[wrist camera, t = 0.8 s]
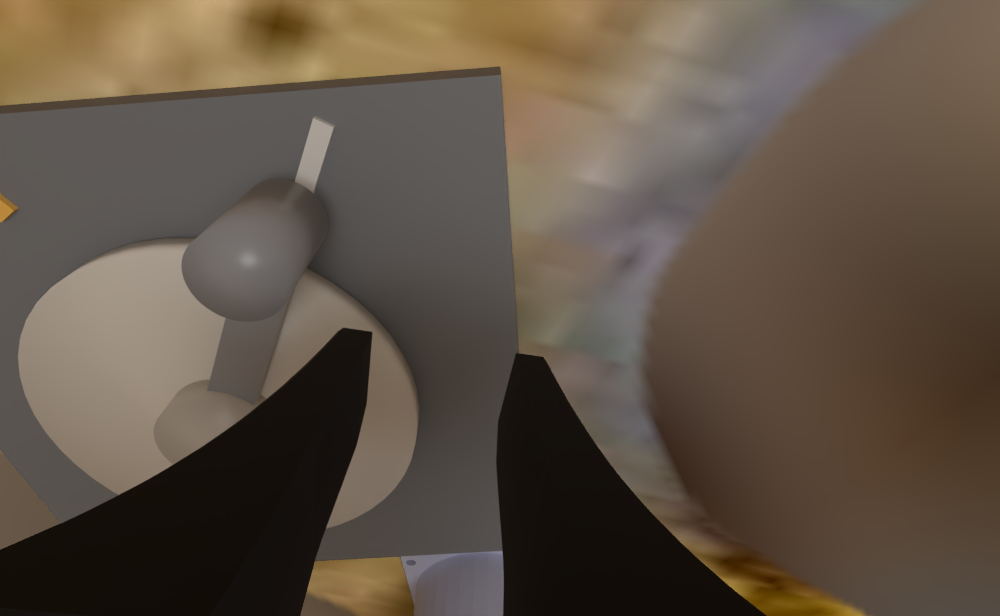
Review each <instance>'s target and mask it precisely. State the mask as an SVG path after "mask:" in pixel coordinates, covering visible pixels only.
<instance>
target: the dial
mask: <svg viewBox="0 0 1000 616" xmlns="http://www.w3.org/2000/svg"><path fill="white" fill-rule="evenodd" d="M327 232H328V218H327V214H326V211H325V209H324V207H323V205H322V203H321V202H320V200H319V199H318V198H317V197H316V196H315V195H314V194H313V193H312V192H311V191H310V190H309V189H307V188H306V187H304V186H303V185H301V184H299V183H297V182H294V181H291V180H287V179H268V180H265V181H262V182H260V183H258V184H257V185H255V186H254V187H253V188H252V189H250V190H249V191H248V192H247V193H246V194H245V195H244V196H243V197H242V198H240V199H239V200H238V201H237V202H236V203H235V204H234V205H233V206H231V207H230V208H229V209H228V210H227V211H226V212H225V213H224V214H223V215H221V216H220V217H219V218H218V219H217V220H216V221H215V222H214V223H212V224H211V225H210V226H209V227H208V228H207V229H206V230H205V231H204V232H202V233H201V234H200V235H199V236H198V237H197V238H165V239H157V240H150V241H143V242H137V243H133V244H130V245H126V246H122V247H119V248H115V249H112V250H110V251H108V252H106V253H104V254H101V255H99V256H97V257H95V258H93V259H91V260H89V261H88V262H86V263H85V264H84V265H82V266H81V267H79V268H78V269H76V270H75V271H73V272H72V273H71V274H69V275H68V276H66V277H65V278H64V279H62V280H61V281H59V282H58V283H57V284H55V285H54V286H52V287H51V288H50V289H49V290H48V291H47V292H46V293H45V294H44V295H43V296H42V298H41V299H40V300H39V301H38V302H37V303H36V305H35V306H34V308H33V309H32V311H31V313H30V314H29V316H28V317H27V319H26V322H25V325H24V328H23V330H22V333H21V336H20V342H19V351H18V363H19V374H20V379H21V383H22V386H23V390H24V393H25V396H26V398H27V401H28V403H29V405H30V407H31V409H32V411H33V413H34V415H35V417H36V418H37V420H38V421H39V423H40V424H41V426H42V428H43V429H44V431H45V432H46V433H47V435H48V436H49V437H50V438H51V439H52V441H53V442H54V443H55V444H56V445H57V447H58V448H59V449H60V450H61V451H62V452H63V453H64V454H65V455H66V456H67V457H68V458H69V459H70V460H71V461H72V462H73V463H74V464H75V465H77V466H78V467H79V468H80V469H82V470H83V471H84V472H85V473H87V474H88V475H89V476H90V477H92V478H93V479H94V480H96V481H97V482H99V483H100V484H102V485H103V486H105V487H106V488H108V489H109V490H111V491H112V492H114V493H116V494H118V495H120V494H121V493H123V492H125V491H127V490H129V489H131V488H133V487H135V486H137V485H139V484H141V483H142V482H144V481H146V480H148V479H150V478H151V477H153V476H155V475H157V474H158V473H160V472H162V471H163V470H165V469H167V468H168V467H170V466H172V465H173V464H175V463H177V462H178V461H180V460H181V459H183V458H185V457H186V456H188V455H189V454H191V453H193V452H194V451H196V450H197V449H199V448H201V447H202V446H204V445H205V444H207V443H208V442H210V441H211V440H213V439H214V438H215V437H217V436H218V435H220V434H221V433H223V432H224V431H226V430H227V429H228V428H230V427H231V426H233V425H234V424H235V423H237V422H238V421H239V420H241V419H242V418H243V417H245V416H246V415H247V414H249V413H250V412H251V411H252V410H253V409H255V408H256V407H257V406H258V405H260V404H261V403H262V402H263V401H265V400H266V399H267V398H268V397H269V396H271V395H272V394H273V393H274V392H276V391H277V390H278V389H279V388H280V387H281V386H283V385H284V384H285V383H286V382H287V381H288V380H289V379H290V378H291V377H292V376H294V375H295V374H296V373H297V372H298V371H299V370H300V369H301V368H302V367H303V366H304V365H306V364H307V363H308V362H309V361H310V360H311V359H312V358H313V357H314V356H315V355H316V354H317V353H318V352H319V351H320V350H321V349H322V348H323V347H324V346H325V344H326V343H327V342H328V341H329V340H330V339H331V338H332V337H333V336H334V335H335V334H336V333H337V331H339V330H340V329H342V328H350V329H357V330H363V331H370V332H372V345H371V357H370V370H369V382H368V395H367V405H366V409H365V413H364V417H363V422H362V426H361V430H360V434H359V438H358V442H357V446H356V449H355V451H354V454H353V457H352V460H351V462H350V465H349V468H348V470H347V473H346V476H345V479H344V481H343V484H342V487H341V489H340V492H339V495H338V497H337V500H336V503H335V505H334V508H333V511H332V514H331V516H330V519H329V522H328V524H327V527H326V529H327V528H330V527H334V526H337V525H340V524H342V523H345V522H347V521H350V520H352V519H355V518H357V517H358V516H360V515H362V514H364V513H365V512H367V511H369V510H371V509H372V508H373V507H375V506H376V505H377V504H379V503H380V502H381V501H383V500H384V499H385V498H386V497H387V496H388V495H389V494H390V493H391V492H392V491H393V490H394V489H395V488H396V486H397V485H398V483H399V482H400V481H401V479H402V478H403V476H404V475H405V473H406V471H407V468H408V466H409V464H410V462H411V459H412V455H413V451H414V447H415V443H416V437H417V431H418V423H419V402H418V393H417V389H416V385H415V382H414V378H413V375H412V372H411V370H410V368H409V366H408V363H407V361H406V359H405V357H404V355H403V353H402V352H401V350H400V349H399V347H398V345H397V344H396V342H395V341H394V339H393V338H392V336H391V335H390V334H389V333H388V331H387V330H386V329H385V328H384V327H383V326H382V324H381V323H380V322H379V321H378V320H377V319H376V317H375V316H373V315H372V314H371V313H370V312H369V311H368V310H367V309H366V308H365V307H364V306H363V305H361V304H360V303H359V302H358V301H357V300H356V299H355V298H353V297H352V296H350V295H349V294H348V293H346V292H345V291H344V290H342V289H341V288H340V287H338V286H337V285H335V284H334V283H332V282H331V281H329V280H327V279H325V278H324V277H322V276H320V275H318V274H317V273H315V272H313V271H312V270H310V269H308V268H307V267H308V265H309V264H310V262H311V261H312V259H313V257H314V256H315V254H316V253H317V251H318V250H319V248H320V246H321V245H322V243H323V242H324V240H325V238H326V236H327Z"/></svg>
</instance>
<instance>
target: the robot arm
mask: <svg viewBox="0 0 1000 616" xmlns="http://www.w3.org/2000/svg"><path fill="white" fill-rule="evenodd" d="M371 345H372V332H370V331H363V330H357V329H350V328H342V329H340V330H339V331H337V333H336V334H335V335H334V336H333V337H332V338H331V339H330V340H329V341H328V342H327V343H326V344H325V346H324V347H323V348H322V349H321V350H320V351H319V352H318V353H317V354H316V355H315V356H314V357H313V358H312V359H311V360H310V361H309V362H308V363H307V364H306V365H304V366H303V367H302V368H301V369H300V370H299V371H298V372H297V373H296V374H295V375H294V376H292V377H291V378H290V379H289V380H288V381H287V382H286V383H285V384H284V385H283V386H281V387H280V388H279V389H278V390H277V391H276V392H274V393H273V394H272V395H271V396H269V397H268V398H267V399H266V400H265V401H263V402H262V403H261V404H260V405H258V406H257V407H256V408H255V409H253V410H252V411H251V412H250V413H249V414H247V415H246V416H245V417H243V418H242V419H241V420H239V421H238V422H237V423H235V424H234V425H233V426H231V427H230V428H228V429H227V430H226V431H224V432H223V433H221V434H220V435H218V436H217V437H215V438H214V439H213V440H211V441H210V442H208V443H207V444H205V445H204V446H202V447H201V448H199V449H197V450H196V451H194V452H193V453H191V454H189V455H188V456H186V457H185V458H183V459H181V460H180V461H178V462H177V463H175V464H173V465H172V466H170V467H168V468H167V469H165V470H163V471H162V472H160V473H158V474H157V475H155V476H153V477H151V478H150V479H148V480H146V481H144V482H142V483H141V484H139V485H137V486H135V487H133V488H131V489H129V490H127V491H125V492H123V493H121V494H120V495H118V496H116V497H114V498H112V499H110V500H108V501H106V502H104V503H102V504H100V505H98V506H96V507H94V508H92V509H90V510H88V511H86V512H84V513H82V514H80V515H78V516H76V517H73V518H71V519H69V520H67V521H65V522H63V523H61V524H59V525H56V526H54V527H52V528H49V529H47V530H45V531H42V532H40V533H38V534H35V535H33V536H31V537H29V538H26V539H24V540H22V541H19V542H17V543H15V544H13V545H10V546H8V547H6V548H3V549H1V550H0V616H300V614H301V610H302V607H303V602H304V599H305V595H306V592H307V588H308V584H309V580H310V577H311V573H312V569H313V566H314V562H315V559H316V556H317V553H318V550H319V547H320V544H321V540H322V538H323V535H324V532H325V530H326V527H327V524H328V522H329V519H330V516H331V514H332V511H333V508H334V505H335V503H336V500H337V497H338V495H339V492H340V489H341V487H342V484H343V481H344V479H345V476H346V473H347V470H348V468H349V465H350V462H351V460H352V457H353V454H354V451H355V449H356V446H357V442H358V438H359V434H360V430H361V426H362V422H363V417H364V413H365V409H366V405H367V395H368V382H369V370H370V357H371ZM496 469H497V483H498V498H499V511H500V524H501V538H502V551H492V552H474V553H455V554H436V555H418V556H400V558H401V561H402V565H403V568H404V572H405V575H406V579H407V582H408V586H409V589H410V593H411V596H412V599H413V603H414V614H413V616H766V615H765V614H764V613H762V612H761V611H760V610H758V609H757V608H756V607H755V606H753V605H752V604H751V603H749V602H748V601H747V600H746V599H744V598H743V597H742V596H741V595H739V594H738V593H737V592H735V591H734V590H733V589H732V588H731V587H729V586H728V585H727V584H726V583H725V582H724V581H723V580H721V579H720V578H719V577H718V576H717V575H716V574H715V573H713V572H712V571H711V570H710V569H709V568H708V567H707V566H705V565H704V564H703V563H702V562H701V561H700V560H699V559H698V558H696V557H695V556H694V555H693V554H692V553H691V552H690V551H689V550H688V549H687V548H686V547H685V546H684V545H683V544H682V543H680V542H679V541H678V540H677V539H676V538H675V537H674V536H673V535H672V533H671V532H670V531H669V530H668V529H667V528H666V527H665V526H664V525H663V524H662V523H661V522H660V521H659V520H658V519H657V518H656V517H655V516H654V515H653V514H652V513H651V512H650V511H649V510H648V509H647V508H646V507H645V505H644V504H643V503H642V502H641V501H640V500H639V499H638V498H637V496H636V495H635V494H634V493H633V492H632V491H631V489H630V488H629V487H628V486H627V485H626V483H625V482H624V481H623V480H622V479H621V478H620V476H619V475H618V474H617V473H616V471H615V470H614V469H613V467H612V466H611V465H610V463H609V462H608V461H607V459H606V458H605V456H604V455H603V454H602V452H601V451H600V450H599V448H598V447H597V445H596V444H595V442H594V441H593V439H592V438H591V436H590V435H589V434H588V432H587V430H586V429H585V427H584V426H583V424H582V423H581V421H580V419H579V418H578V416H577V415H576V413H575V412H574V410H573V408H572V407H571V405H570V403H569V402H568V400H567V398H566V396H565V395H564V393H563V391H562V389H561V388H560V386H559V384H558V382H557V380H556V379H555V377H554V375H553V373H552V371H551V369H550V368H549V366H548V364H547V362H546V361H545V359H544V358H543V357H539V356H532V355H526V354H519V353H516V354H515V358H514V362H513V366H512V370H511V373H510V377H509V381H508V385H507V389H506V392H505V396H504V400H503V404H502V408H501V412H500V415H499V419H498V431H497V453H496Z"/></svg>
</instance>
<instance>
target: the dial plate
mask: <svg viewBox="0 0 1000 616" xmlns="http://www.w3.org/2000/svg"><path fill="white" fill-rule="evenodd" d="M268 179H287V180H291V181H294V182H297V183H299V184H301V185H303V186H304V187H306V188H307V189H309V190H310V191H311V192H312V193H313V194H314V195H315V196H316V197H317V198H318V199H319V200H320V202H321V203H322V205H323V207H324V209H325V211H326V214H327V218H328V232H327V236H326V238H325V240H324V242H323V243H322V245H321V246H320V248H319V250H318V251H317V253H316V254H315V256H314V257H313V259H312V261H311V262H310V264H309V265H308V267H307V268H308V269H310V270H312V271H313V272H315V273H317V274H318V275H320V276H322V277H324V278H325V279H327V280H329V281H331V282H332V283H334V284H335V285H337V286H338V287H340V288H341V289H342V290H344V291H345V292H346V293H348V294H349V295H350V296H352V297H353V298H355V299H356V300H357V301H358V302H359V303H360V304H361V305H363V306H364V307H365V308H366V309H367V310H368V311H369V312H370V313H371V314H372V315H373V316H375V317H376V319H377V320H378V321H379V322H380V323H381V324H382V326H383V327H384V328H385V329H386V330H387V331H388V333H389V334H390V335H391V336H392V338H393V339H394V341H395V342H396V344H397V345H398V347H399V349H400V350H401V352H402V353H403V355H404V357H405V359H406V361H407V363H408V366H409V368H410V370H411V372H412V375H413V378H414V382H415V385H416V389H417V393H418V402H419V423H418V431H417V437H416V443H415V447H414V451H413V455H412V459H411V462H410V464H409V466H408V468H407V471H406V473H405V475H404V476H403V478H402V479H401V481H400V482H399V483H398V485H397V486H396V488H395V489H394V490H393V491H392V492H391V493H390V494H389V495H388V496H387V497H386V498H385V499H384V500H383V501H381V502H380V503H379V504H377V505H376V506H375V507H373V508H372V509H371V510H369V511H367V512H365V513H364V514H362V515H360V516H358V517H357V518H355V519H352V520H350V521H347V522H345V523H342V524H340V525H337V526H334V527H330V528H327V529H326V530H325V532H324V535H323V538H322V540H321V544H320V547H319V550H318V553H317V556H316V559H315V561H325V560H343V559H362V558H380V557H399V556H418V555H436V554H455V553H474V552H492V551H502V538H501V524H500V511H499V498H498V483H497V469H496V453H497V431H498V419H499V415H500V412H501V408H502V404H503V400H504V396H505V392H506V389H507V385H508V381H509V377H510V373H511V370H512V366H513V362H514V358H515V354H516V353H519V349H518V334H517V318H516V303H515V287H514V271H513V256H512V240H511V225H510V209H509V194H508V178H507V162H506V147H505V131H504V116H503V100H502V85H501V70H500V67H490V68H478V69H465V70H452V71H439V72H427V73H414V74H401V75H388V76H376V77H363V78H350V79H337V80H325V81H312V82H299V83H286V84H273V85H261V86H248V87H235V88H222V89H210V90H197V91H184V92H171V93H159V94H146V95H133V96H120V97H108V98H95V99H82V100H69V101H57V102H44V103H31V104H18V105H6V106H0V450H1V451H2V452H3V454H4V455H5V456H6V457H7V459H8V460H9V461H10V462H11V463H12V465H13V466H14V467H15V468H16V469H17V471H18V472H19V473H20V474H21V476H22V477H23V478H24V479H25V480H26V482H27V483H28V484H29V485H30V487H31V488H32V489H33V490H34V491H35V493H36V494H37V495H38V496H39V497H40V499H41V500H42V501H43V502H44V503H45V505H46V506H47V507H48V508H49V510H50V511H51V512H52V513H53V515H54V516H55V517H56V518H57V519H58V521H59V522H60V523H63V522H65V521H67V520H69V519H71V518H73V517H76V516H78V515H80V514H82V513H84V512H86V511H88V510H90V509H92V508H94V507H96V506H98V505H100V504H102V503H104V502H106V501H108V500H110V499H112V498H114V497H116V496H118V494H116V493H114V492H112V491H111V490H109V489H108V488H106V487H105V486H103V485H102V484H100V483H99V482H97V481H96V480H94V479H93V478H92V477H90V476H89V475H88V474H87V473H85V472H84V471H83V470H82V469H80V468H79V467H78V466H77V465H75V464H74V463H73V462H72V461H71V460H70V459H69V458H68V457H67V456H66V455H65V454H64V453H63V452H62V451H61V450H60V449H59V448H58V447H57V445H56V444H55V443H54V442H53V441H52V439H51V438H50V437H49V436H48V435H47V433H46V432H45V431H44V429H43V428H42V426H41V424H40V423H39V421H38V420H37V418H36V417H35V415H34V413H33V411H32V409H31V407H30V405H29V403H28V401H27V398H26V396H25V393H24V390H23V386H22V383H21V379H20V374H19V363H18V351H19V342H20V336H21V333H22V330H23V328H24V325H25V322H26V319H27V317H28V316H29V314H30V313H31V311H32V309H33V308H34V306H35V305H36V303H37V302H38V301H39V300H40V299H41V298H42V296H43V295H44V294H45V293H46V292H47V291H48V290H49V289H50V288H51V287H52V286H54V285H55V284H57V283H58V282H59V281H61V280H62V279H64V278H65V277H66V276H68V275H69V274H71V273H72V272H73V271H75V270H76V269H78V268H79V267H81V266H82V265H84V264H85V263H86V262H88V261H89V260H91V259H93V258H95V257H97V256H99V255H101V254H104V253H106V252H108V251H110V250H112V249H115V248H119V247H122V246H126V245H130V244H133V243H137V242H143V241H150V240H157V239H165V238H197V237H198V236H199V235H200V234H201V233H202V232H204V231H205V230H206V229H207V228H208V227H209V226H210V225H211V224H212V223H214V222H215V221H216V220H217V219H218V218H219V217H220V216H221V215H223V214H224V213H225V212H226V211H227V210H228V209H229V208H230V207H231V206H233V205H234V204H235V203H236V202H237V201H238V200H239V199H240V198H242V197H243V196H244V195H245V194H246V193H247V192H248V191H249V190H250V189H252V188H253V187H254V186H255V185H257V184H258V183H260V182H262V181H265V180H268Z"/></svg>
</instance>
